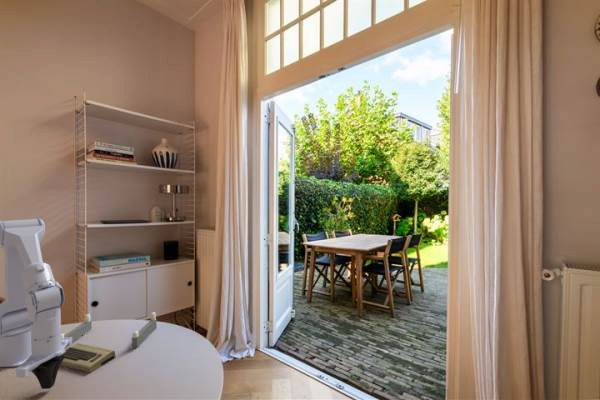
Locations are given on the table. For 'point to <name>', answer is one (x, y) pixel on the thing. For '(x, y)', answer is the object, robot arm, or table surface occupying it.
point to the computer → (86, 357)
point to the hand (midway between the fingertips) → (47, 386)
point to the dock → (137, 336)
